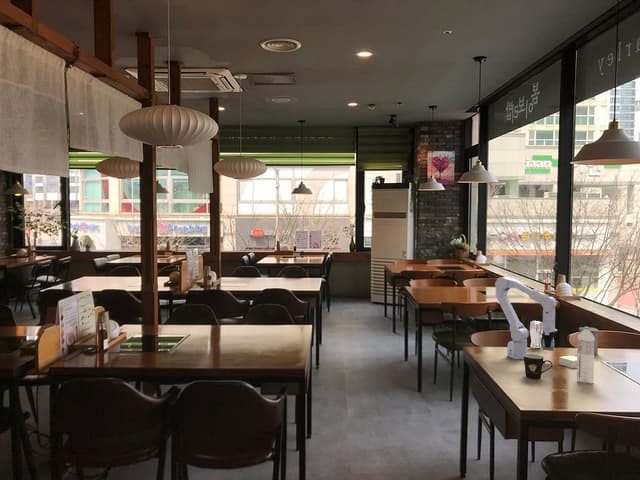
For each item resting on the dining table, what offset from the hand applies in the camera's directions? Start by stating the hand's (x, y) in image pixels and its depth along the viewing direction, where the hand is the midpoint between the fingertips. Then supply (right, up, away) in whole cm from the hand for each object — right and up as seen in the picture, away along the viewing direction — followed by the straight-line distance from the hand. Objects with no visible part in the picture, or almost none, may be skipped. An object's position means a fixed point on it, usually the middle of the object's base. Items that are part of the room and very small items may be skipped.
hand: (548, 346), depth 268 cm
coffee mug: (-18, -9, -29) cm, 35 cm away
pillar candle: (+32, -8, +21) cm, 39 cm away
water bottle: (+2, -9, -34) cm, 35 cm away
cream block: (+10, -9, -5) cm, 14 cm away
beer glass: (+8, -8, +34) cm, 35 cm away
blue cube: (0, -2, 0) cm, 2 cm away
